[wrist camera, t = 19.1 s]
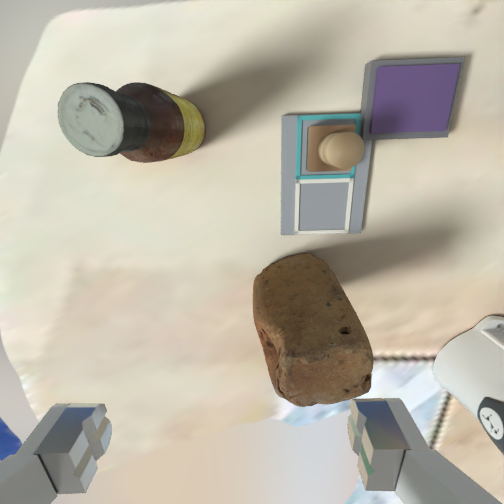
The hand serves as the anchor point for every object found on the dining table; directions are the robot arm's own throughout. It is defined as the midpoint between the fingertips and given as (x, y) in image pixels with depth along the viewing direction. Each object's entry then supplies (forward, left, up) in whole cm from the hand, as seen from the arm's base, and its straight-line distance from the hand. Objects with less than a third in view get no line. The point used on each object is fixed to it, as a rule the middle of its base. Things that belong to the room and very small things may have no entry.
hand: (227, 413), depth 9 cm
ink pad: (-19, -12, -31) cm, 38 cm away
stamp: (-10, -7, -30) cm, 33 cm away
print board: (-10, -3, -31) cm, 33 cm away
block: (-6, +11, -31) cm, 34 cm away
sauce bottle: (+8, -10, -31) cm, 34 cm away
